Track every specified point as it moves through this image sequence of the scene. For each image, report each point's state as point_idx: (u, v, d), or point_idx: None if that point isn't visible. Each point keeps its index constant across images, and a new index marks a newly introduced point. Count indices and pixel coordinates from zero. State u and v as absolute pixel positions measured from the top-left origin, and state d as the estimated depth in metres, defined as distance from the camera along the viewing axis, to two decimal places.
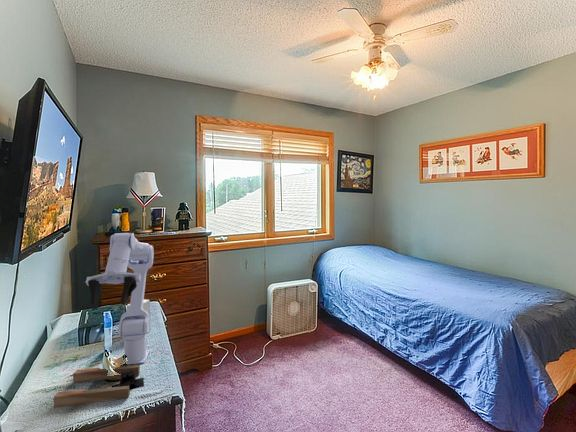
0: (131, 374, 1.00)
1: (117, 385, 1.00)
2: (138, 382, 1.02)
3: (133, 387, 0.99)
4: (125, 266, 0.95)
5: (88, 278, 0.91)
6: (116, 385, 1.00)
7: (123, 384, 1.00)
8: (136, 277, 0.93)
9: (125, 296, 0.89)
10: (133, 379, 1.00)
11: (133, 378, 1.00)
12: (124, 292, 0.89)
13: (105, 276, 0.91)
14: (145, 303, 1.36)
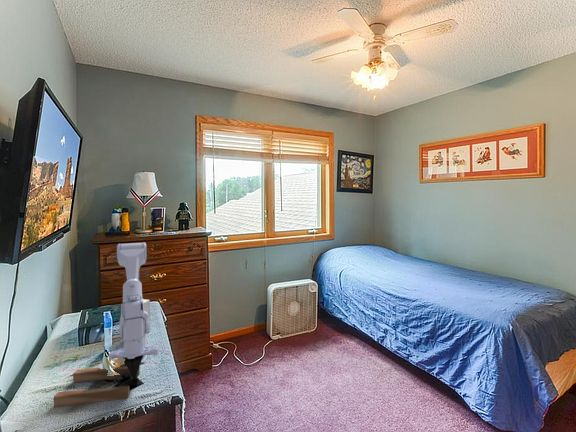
0: (127, 374, 0.99)
1: None
2: (133, 382, 1.02)
3: (130, 387, 0.99)
4: (142, 342, 1.00)
5: (110, 356, 0.98)
6: None
7: None
8: (155, 354, 1.00)
9: (136, 372, 1.00)
10: (130, 379, 0.99)
11: (130, 378, 0.99)
12: (135, 372, 0.99)
13: None
14: (145, 303, 1.36)
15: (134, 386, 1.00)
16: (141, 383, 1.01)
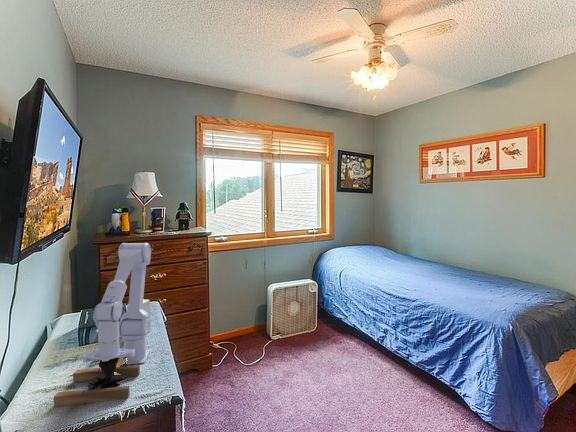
0: (103, 377, 0.98)
1: None
2: (108, 384, 1.00)
3: None
4: (117, 344, 0.98)
5: (84, 358, 0.96)
6: None
7: None
8: (130, 356, 0.99)
9: (112, 375, 0.99)
10: (105, 381, 0.98)
11: (105, 380, 0.98)
12: (110, 375, 0.98)
13: None
14: (145, 303, 1.36)
15: None
16: (117, 385, 1.00)
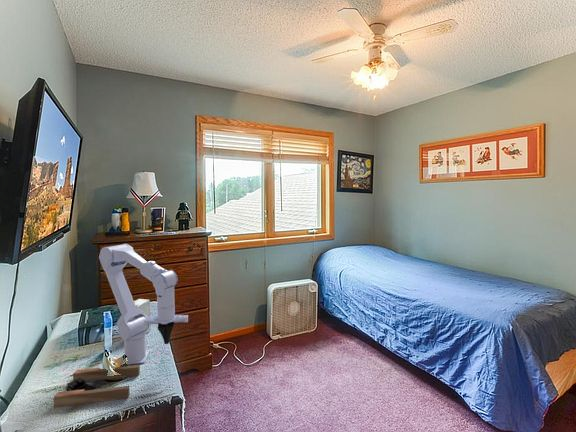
0: (81, 380, 0.97)
1: None
2: (86, 387, 0.99)
3: None
4: (173, 309, 1.09)
5: (145, 322, 1.07)
6: None
7: None
8: (185, 321, 1.10)
9: (169, 338, 1.09)
10: (84, 384, 0.97)
11: (84, 383, 0.97)
12: (168, 337, 1.08)
13: None
14: (145, 303, 1.36)
15: None
16: None
